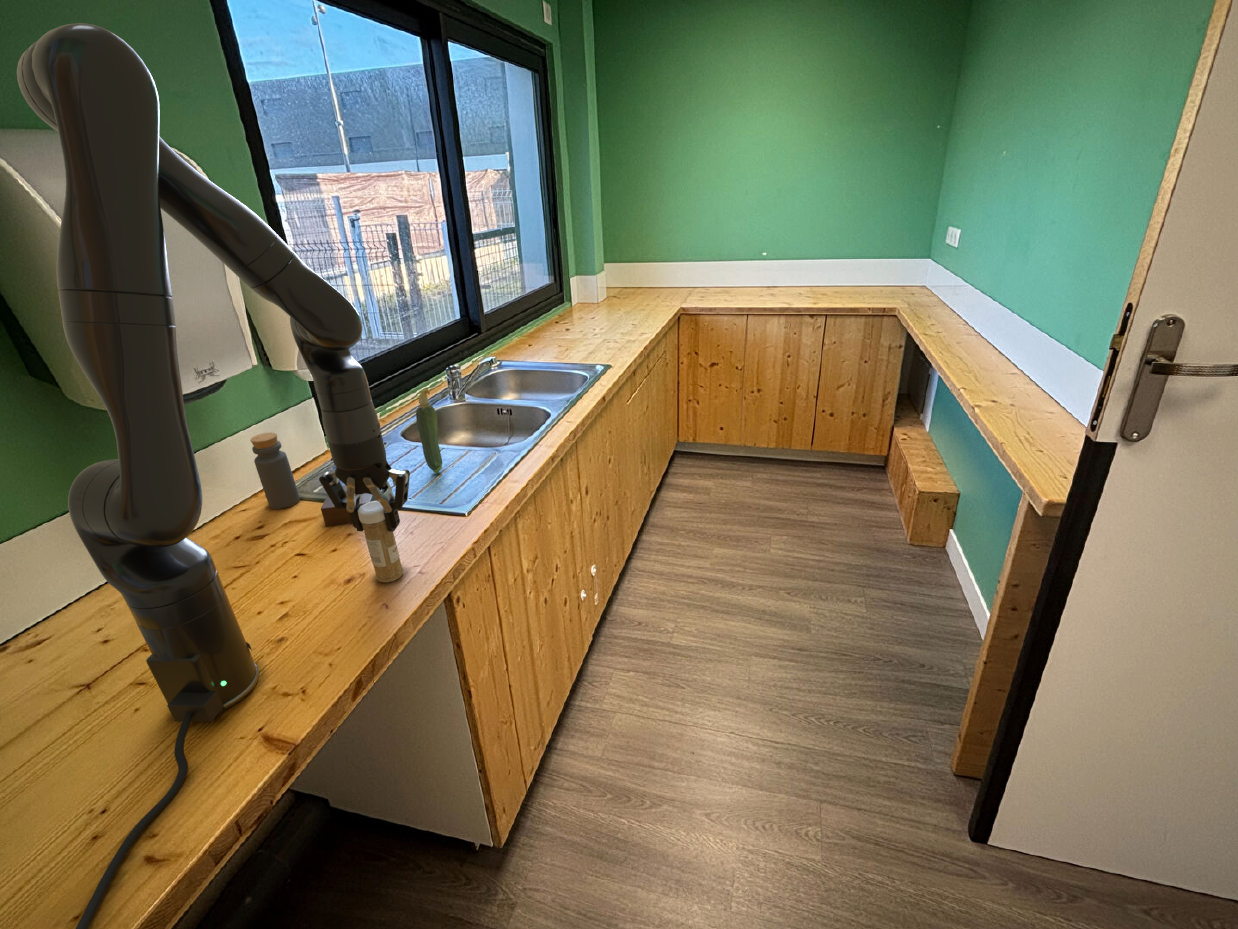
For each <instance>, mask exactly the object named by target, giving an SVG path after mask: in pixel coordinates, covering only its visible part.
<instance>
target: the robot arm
mask: <svg viewBox="0 0 1238 929" xmlns="http://www.w3.org/2000/svg"><path fill="white" fill-rule="evenodd" d="M16 77H17V78H16V79H17V84H18V88H19V91H20V92H21V95H22V96H23V98H24V100H25V101H26V103H27V105H28V106H29V107H30V108H31V110H32V111H33V112H34V114H36V116H38V118H39V119H41V120H42V121H43V122H44V123H45V124H47V125H48V126H49V127H50V128H52V129H53V130H54V131H56V132H57V133H58V137H59V141H60V147H61V151H62V152H61V153H62V157H63V164H64V170H65V171H64V172H65V194H64V195H65V197H64V202H63V209H62V216H61V222H60V227H59V234H58V241H57V250H56V251H57V253H56V285H57V290H58V299H59V307H60V314H61V320H62V327H63V331H64V332H63V333H64V336H65V339H66V342H67V345H68V347H69V349H70V351H71V353H72V355H73V357H74V359H75V361H76V362H77V364H78V366H79V367H80V369H81V371H82V372H83V374H84V375H85V377H86V379H87V380H88V382H89V383H90V385H91V387H92V388H93V389H94V391H95V392H96V395H97V396H98V397H99V399H100V400H101V402H102V404H103V406H104V407H105V409H106V411H107V414H108V417H109V418H110V422H111V424H112V428H113V431H114V435H115V440H116V449H117V457H118V458H113V459H106V460H101V461H98V462H95V463H92V464H91V465H89V466H87V467H86V468H84V469H83V470H81V471H80V472H79V474H77V476H76V477H75V478H74V480H73V482H72V484H71V485H70V488H69V491H68V497H67V507H68V509H67V510H68V513H69V517H70V520H71V523H72V526H73V527H74V529H75V531H76V533H77V535H78V537H79V538H80V540H81V542H82V544H83V546H84V547H85V548H86V550H87V553H88V555H89V556H90V557H91V559H92V561H93V563H94V564H95V566H96V568H97V570H98V571H99V573H100V575H101V576H102V577H103V579H105V581H106V582H107V583H108V584H109V585H110V586H111V587H112V588H114V590H117V591H118V592H119V594H120V595H121V596H122V598H123V600H124V602H125V604H126V606H127V608H128V609H129V611H130V613H131V616H132V617H133V620H134V621H135V624H136V625H137V628H138V629H139V631H140V633H141V636H142V638H143V639H144V641H145V644H146V646H147V648H148V650H149V651H150V655H149V656H148V657H146V660H145V662H146V664H147V666H148V668H149V670H150V672H151V674H152V676H153V678H154V680H155V682H156V684H157V686H158V688H159V690H160V692H161V694H162V695H163V698H164V699H165V701H166V703H167V705H166V706H167V708H168V710H169V712H170V714H171V716H172V718H173V720H174V722H176V723H177V722H178V723H179V722H181V724H180V727H179V730H178V731H177V736H176V739H175V742H174V752H173V753H174V759H175V761H176V764H177V768H178V770H177V774H176V776H175V779H174V782H173V784H172V785H171V787H170V788H169V790H167V792H166V793H165V794H164V796H163V797H162V798H161V799H160V800H159V801H158V802H157V803H156V804H155V805H154V806H153V807H152V808H151V809H150V810H149V811H148V812H147V813H146V814H145V815H144V816H143V817H142V818H141V819H140V820H139V821H138V822H137V824H135V826H133V828H132V829H131V831H130V832H129V833H128V834H127V836H126V837H125V839H124V840H123V842H122V843H121V845H120V846H119V847H118V849H117V851H116V852H115V854H114V856H113V857H112V859H111V861H110V863H109V865H108V866H107V867H106V870H105V871H104V873H103V874H102V876H101V878H100V880H99V881H98V884H97V886H96V888H95V890H94V891H93V893H92V896H90V899H89V901H88V903H87V905H86V907H85V909H84V911H83V913H82V915H81V917H80V919H79V921H78V923H77V926H76V927H75V929H88V928H89V927H90V924H91V922H92V920H93V918H94V916H95V914H96V912H97V909H98V908H99V906H100V904H101V901H102V900H103V898H104V896H105V893H106V892H107V889H108V888H109V885H110V884H111V882H112V880H113V878H114V876H115V874H116V873H117V871H118V868H119V867H120V865H121V863H122V862H123V860H124V858H125V857H126V855H127V853H128V852H129V851H130V848H131V847H132V846H133V844H134V842H135V841H136V840H137V838H138V837H139V836H140V834H141V833H142V832H143V831H144V830H145V829H146V827H147V826H148V825H150V823H152V821H153V820H154V819H155V818H156V817H157V816H159V814H160V813H161V812H162V811H163V810H164V809H165V808H166V807H167V806H168V805H169V804H170V802H171V801H172V800H173V799H174V797H175V796H176V795H177V794H178V792H179V791H180V789H181V787H182V785H183V783H184V782H185V780H186V778H187V773H188V771H189V764H188V763H189V762H188V760H187V757H186V755H185V741H186V738H187V734H188V731H189V728H190V725H191V723H212V722H213V721H214V719H215V718H219V717H220V716H221V715H222V714H223V713H224V711H226V710H227V709H229V708H231V707H232V706H234V705H236V704H238V703H239V702H241V701H242V700H243V699H244V698H246V697H247V696H248V695H249V694H250V693H251V692H252V690H253V689H254V688H255V687H256V685H257V683H258V682H259V679H260V670H259V668H258V666H257V664H256V662H255V661H254V657H253V656H252V654H251V651H253V649H252V647H251V644H250V643H249V642H248V641H246V638H245V636H244V634H243V632H242V628H241V626H240V624H239V621H238V619H237V616H236V614H235V612H234V609H233V607H232V604H231V603H230V599H229V597H228V595H227V592H226V590H225V587H224V584H223V582H222V579H221V576H220V574H219V573H218V572H219V571H218V570H217V567H216V564H215V562H214V560H213V558H212V556H211V554H210V552H209V551H208V549H206V548H205V547H203V546H202V545H200V544H199V543H197V542H195V541H194V540H192V539H190V538H189V536H190V534H192V533H193V531H194V529H195V528H196V526H197V524H198V523H199V521H200V518H201V515H202V510H203V509H202V508H203V491H202V490H203V489H202V484H201V478H200V473H199V470H198V466H197V460H196V457H195V456H196V455H195V452H194V448H193V443H192V440H191V435H190V430H189V425H188V421H187V415H186V410H185V409H186V408H185V400H184V392H183V385H182V378H181V370H180V364H179V363H180V362H179V356H178V344H177V326H176V324H177V323H176V316H175V306H174V298H173V296H174V295H173V290H172V284H171V276H170V269H169V260H168V252H167V250H168V249H167V243H166V235H165V234H166V233H165V229H164V223H163V216H162V211H163V212H165V213H166V214H167V215H168V216H169V217H170V218H172V219H173V220H174V221H175V222H176V223H178V224H179V225H180V226H181V227H182V228H184V229H185V230H186V231H187V232H188V233H190V234H191V235H192V236H193V237H194V238H195V239H196V240H197V241H199V243H201V245H203V246H204V247H205V248H206V249H208V250H209V251H210V253H212V254H213V255H214V256H215V257H216V258H217V259H218V260H219V261H221V262H222V264H224V265H225V266H226V267H227V268H228V269H229V270H230V271H231V272H232V273H234V274H235V275H236V277H238V278H239V279H240V280H241V281H242V282H243V283H244V284H246V286H248V287H249V288H250V289H251V290H252V291H253V292H254V293H256V294H257V295H258V296H260V297H261V298H262V299H264V300H265V301H268V302H270V303H271V304H274V305H275V306H276V307H278V308H280V309H281V310H282V311H283V312H284V313H285V314H287V315H288V316H289V325H290V329H291V334H292V336H293V339H294V342H295V344H296V346H297V348H298V351H299V353H300V355H301V357H302V360H303V362H304V364H305V366H306V368H307V369H308V371H309V373H310V375H311V377H312V380H313V386H314V389H315V394H316V397H317V400H318V404H319V407H320V412H321V420H322V421H321V422H322V426H323V430H324V434H325V436H326V440H327V444H328V448H329V451H330V455H331V459H332V463H333V465H334V466H335V469H334V470H332V469H327V470H326V471H325V472H324V473H322V475H320V476H319V479H318V481H319V483H320V484H321V486H322V488H323V490H324V491H325V492H326V494H327V495H328V496H329V498H330V499H331V501H332V503H333V504H334V506H335V508H337V509H341V508H343V509H346V510H347V511H348V512H349V514H350V517H351V521H352V523H351V524H352V527H353V528H354V529H356V532H364V529H363V526H362V523H361V521H360V519H359V515H358V509H359V508H360V507H361V506H360V503H361V495H362V494H364V493H367V494H373V496H374V498H375V499H376V501H378V502H380V504H381V505H382V507H383V508H384V510H385V512H384V515H385V519H386V523H387V527H388V531H389V532H393V533H394V532H395V531H396V530H397V528H398V526H399V525H400V524H401V519H400V513H399V510H402V508H403V507H404V505H405V503H407V501H408V499H409V490H410V477H411V472H410V470H409V469H406V468H405V469H402V471H401V470H397V469H393V468H392V466H391V465H390V463H389V462H388V460H387V451H386V447H385V442H384V438H383V433H382V429H381V423H380V421H379V416H378V413H377V410H376V407H375V406H374V403H373V399H372V395H371V390H370V387H369V382H368V378H367V375H366V371H365V369H364V367H363V366H362V365H361V364H360V363H359V362H358V361H356V360H355V358H354V357H353V355H352V353H351V350H350V349H351V348H353V347H354V346H356V345H357V343H358V342H359V340H360V339H361V337H362V334H363V322H362V319H361V318H362V317H361V316H360V314H359V312H358V311H357V308H356V307H355V306H354V305H353V304H352V302H351V301H350V300H349V299H347V297H346V296H344V294H342V293H341V292H340V291H339V290H338V289H336V288H335V287H334V286H332V284H331V283H329V282H328V281H327V280H326V279H324V278H323V277H322V276H321V275H319V274H318V273H316V272H315V271H314V270H313V269H312V268H310V267H309V266H308V265H307V264H306V263H304V262H303V260H302V259H301V258H300V257H299V256H298V255H297V253H295V251H294V250H293V249H292V248H291V247H290V246H289V245H288V244H287V243H286V242H285V241H284V240H283V239H282V238H281V237H280V236H279V234H277V233H276V231H274V229H272V228H271V226H269V225H268V224H267V223H266V222H265V221H264V220H263V219H262V218H261V217H260V216H259V215H257V213H255V212H254V211H253V210H251V209H250V208H249V207H248V206H247V205H245V204H244V203H242V202H241V201H240V200H238V199H236V197H234V196H232V195H231V194H229V192H226V191H225V190H224V189H223V188H221V187H219V186H218V185H217V184H215V183H213V181H211V180H210V179H208V178H207V177H206V176H204V175H203V174H201V173H200V172H199V171H198V170H197V169H196V168H194V167H193V166H191V165H190V164H189V163H188V162H186V160H184V158H182V157H181V156H180V155H178V154H177V152H175V150H174V149H172V148H171V147H170V146H169V145H168V143H166V141H165V140H164V139H163V138H162V137H161V136H160V100H159V93H158V90H157V86H156V82H155V80H154V78H153V76H152V74H151V72H150V70H149V68H148V67H147V65H146V64H145V62H144V60H143V59H142V58H141V56H139V54H138V53H137V52H136V50H134V48H133V47H132V46H131V45H130V44H128V43H127V42H126V41H125V40H124V39H123V38H121V37H120V36H118V35H117V34H115V33H114V32H113V31H110V30H108V29H106V28H105V27H101V26H98V25H96V24H91V23H84V22H76V23H75V22H74V23H68V24H64V25H60V26H58V27H55V28H53V29H50V30H48V31H47V32H46V33H44V34H43V35H42V36H40V37H39V38H38V39H37V40H36V41H34V42H33V43H32V44H31V45H30V46H29V47H28V48H27V49H26V50H25V51H24V52H23V53H22V54H21V56H20V57H19V60H18V62H17V67H16ZM389 479H391V480H392V485H393V486H395V490H394V493H393V488H392V486H391V484H390V482H389V481H388V480H389ZM341 482H342V483H341ZM342 484H344V486H347V492H345V490H344V489H343V487H342V486H343V485H342Z"/></svg>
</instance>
